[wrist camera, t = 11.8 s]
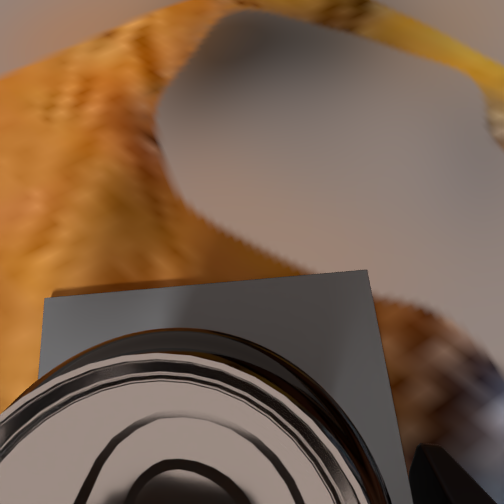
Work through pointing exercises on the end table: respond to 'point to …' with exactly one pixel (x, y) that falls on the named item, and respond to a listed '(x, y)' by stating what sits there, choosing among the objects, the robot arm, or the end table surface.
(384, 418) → the slate mat
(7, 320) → the end table surface
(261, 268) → the end table surface
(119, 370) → the beverage can
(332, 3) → the end table surface
